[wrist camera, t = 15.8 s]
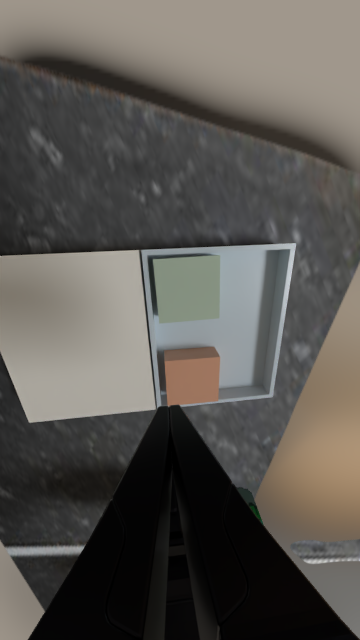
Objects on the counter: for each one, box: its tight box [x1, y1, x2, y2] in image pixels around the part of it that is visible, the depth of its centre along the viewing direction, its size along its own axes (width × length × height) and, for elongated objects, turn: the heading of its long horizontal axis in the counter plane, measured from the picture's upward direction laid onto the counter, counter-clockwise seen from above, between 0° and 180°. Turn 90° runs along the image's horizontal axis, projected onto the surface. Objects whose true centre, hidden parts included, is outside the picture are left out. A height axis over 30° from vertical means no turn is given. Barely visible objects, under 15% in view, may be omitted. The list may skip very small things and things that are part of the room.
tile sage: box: [153, 255, 220, 324], centre depth 16 cm, size 5×5×2 cm
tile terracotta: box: [164, 347, 220, 406], centre depth 19 cm, size 5×5×2 cm
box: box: [141, 243, 296, 408], centre depth 18 cm, size 15×12×2 cm
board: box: [0, 250, 156, 423], centre depth 17 cm, size 15×12×2 cm
